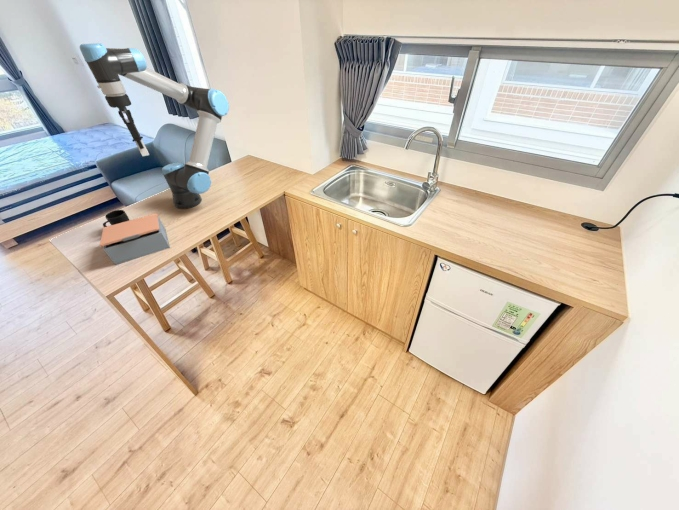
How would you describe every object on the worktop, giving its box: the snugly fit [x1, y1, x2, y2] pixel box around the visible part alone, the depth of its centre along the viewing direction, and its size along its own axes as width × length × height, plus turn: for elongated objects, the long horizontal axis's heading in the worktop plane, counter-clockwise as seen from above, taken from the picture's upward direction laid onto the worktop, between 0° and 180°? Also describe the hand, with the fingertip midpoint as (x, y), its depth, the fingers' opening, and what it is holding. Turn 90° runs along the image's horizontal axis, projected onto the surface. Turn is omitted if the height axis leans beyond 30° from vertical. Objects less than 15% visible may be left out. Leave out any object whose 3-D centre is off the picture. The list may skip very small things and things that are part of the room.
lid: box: [99, 212, 160, 248], centre depth 120 cm, size 19×22×1 cm
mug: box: [102, 209, 131, 228], centre depth 133 cm, size 8×12×10 cm
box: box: [103, 216, 171, 266], centre depth 124 cm, size 18×22×9 cm
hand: (145, 155), depth 118 cm, fingers closed
